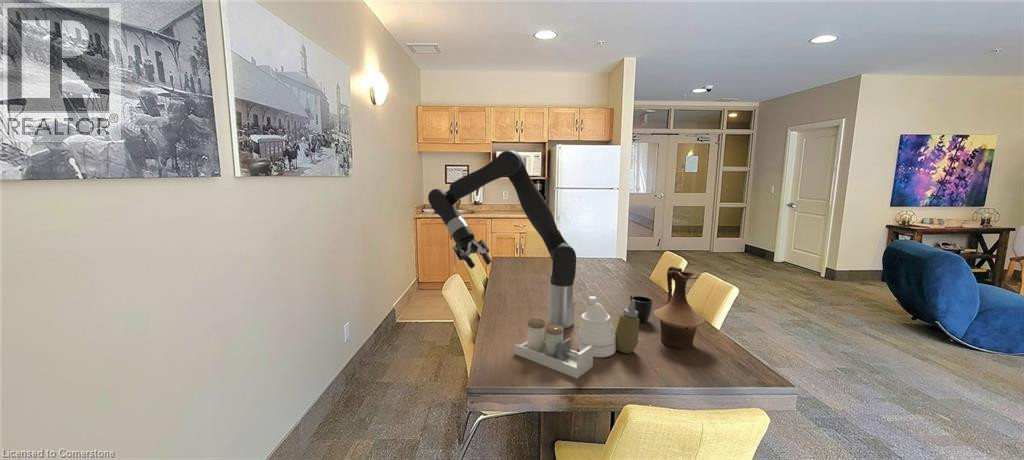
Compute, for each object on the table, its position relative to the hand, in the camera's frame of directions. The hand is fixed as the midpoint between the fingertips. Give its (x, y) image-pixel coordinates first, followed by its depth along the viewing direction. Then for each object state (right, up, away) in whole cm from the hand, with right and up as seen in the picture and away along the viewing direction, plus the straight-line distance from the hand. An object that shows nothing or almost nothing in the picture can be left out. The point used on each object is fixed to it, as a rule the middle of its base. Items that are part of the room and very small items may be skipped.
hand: (481, 265), depth 140 cm
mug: (+65, -25, +22) cm, 73 cm away
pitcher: (+71, -29, -1) cm, 77 cm away
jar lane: (+25, -30, -16) cm, 42 cm away
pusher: (+29, -29, -20) cm, 45 cm away
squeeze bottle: (+50, -29, -8) cm, 58 cm away
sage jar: (+25, -28, -16) cm, 41 cm away
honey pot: (+41, -29, -8) cm, 50 cm away
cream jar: (+19, -28, -12) cm, 36 cm away
